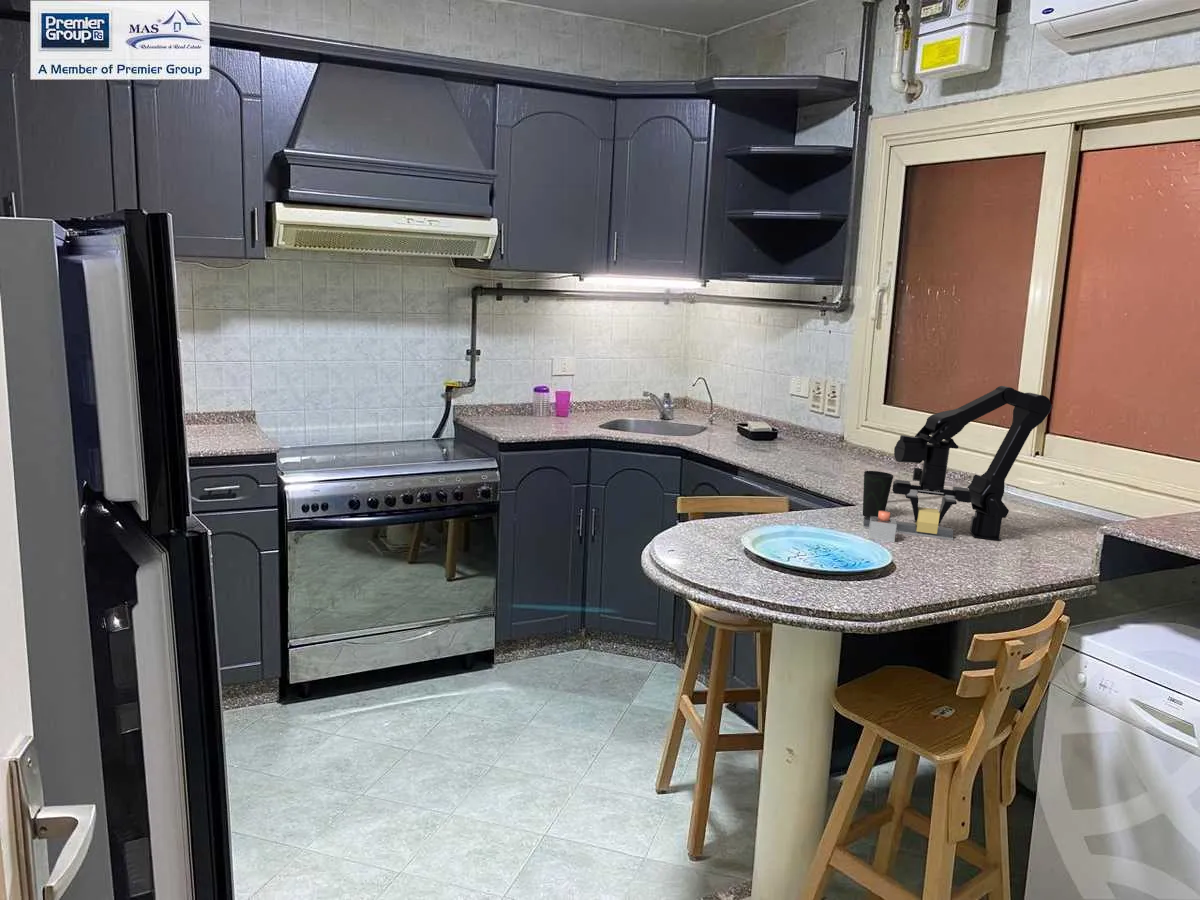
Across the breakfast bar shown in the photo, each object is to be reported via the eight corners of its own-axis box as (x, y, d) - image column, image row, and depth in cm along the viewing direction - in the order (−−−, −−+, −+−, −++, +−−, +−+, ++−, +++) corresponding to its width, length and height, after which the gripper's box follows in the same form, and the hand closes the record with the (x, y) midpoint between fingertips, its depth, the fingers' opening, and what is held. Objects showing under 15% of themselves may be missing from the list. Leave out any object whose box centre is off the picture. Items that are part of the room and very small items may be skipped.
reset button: (889, 519, 234) (890, 511, 234) (889, 521, 231) (890, 513, 231) (877, 517, 235) (878, 510, 234) (877, 520, 232) (879, 512, 232)
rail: (950, 534, 243) (951, 527, 243) (952, 540, 237) (954, 532, 237) (862, 522, 248) (863, 515, 248) (863, 528, 242) (864, 520, 242)
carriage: (934, 529, 243) (937, 509, 243) (936, 534, 238) (939, 513, 238) (914, 526, 245) (917, 506, 244) (916, 531, 240) (919, 510, 239)
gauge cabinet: (892, 536, 236) (895, 519, 235) (894, 542, 230) (896, 524, 229) (868, 533, 237) (870, 515, 236) (869, 538, 232) (871, 521, 231)
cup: (881, 521, 252) (887, 477, 250) (854, 515, 256) (859, 472, 254) (891, 517, 258) (897, 474, 256) (865, 511, 262) (870, 469, 260)
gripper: (969, 463, 244) (960, 521, 247) (895, 454, 248) (887, 512, 251) (975, 470, 234) (966, 531, 236) (898, 461, 238) (889, 521, 240)
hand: (926, 523), depth 241 cm, fingers closed on carriage, 5 cm apart
